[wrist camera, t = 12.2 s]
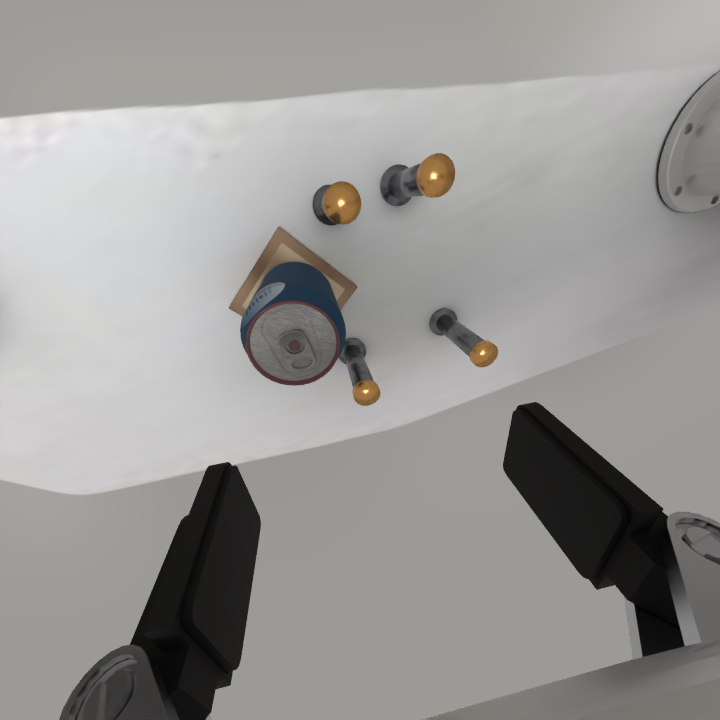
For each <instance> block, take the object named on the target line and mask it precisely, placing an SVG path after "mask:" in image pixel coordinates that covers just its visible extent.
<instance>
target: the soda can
mask: <svg viewBox="0 0 720 720" xmlns="http://www.w3.org/2000/svg"><path fill="white" fill-rule="evenodd" d="M240 332H241V340H242V344H243V347H244V349H245V351H246V353H247V355H248V357H249V359H250V361H251V363H252V364H253V366H254V367H255V368H256V369H257V370H258V371H259V372H260V373H261V374H262V375H263V376H265V377H266V378H268V379H270V380H272V381H274V382H277V383H280V384H284V385H304V384H308V383H311V382H314V381H316V380H318V379H320V378H321V377H323V376H324V375H325V374H326V373H328V372H329V371H330V369H331V368H332V367H333V366H334V364H335V362H336V360H337V359H338V357H339V356H340V354H341V352H342V350H343V347H344V343H345V338H346V330H345V323H344V320H343V317H342V314H341V312H340V309H339V306H338V304H337V301H336V298H335V295H334V293H333V290H332V287H331V285H330V283H329V281H328V280H327V278H326V277H325V276H324V275H323V273H321V272H320V271H319V270H318V269H316V268H315V267H313V266H311V265H309V264H306V263H302V262H287V263H283V264H280V265H278V266H276V267H274V268H273V269H271V270H270V271H269V272H268V273H267V274H266V275H265V277H264V278H263V280H262V282H261V284H260V285H259V287H258V289H257V291H256V292H255V294H254V296H253V298H252V300H251V301H250V303H249V305H248V307H247V309H246V310H245V313H244V315H243V318H242V321H241V329H240Z"/></svg>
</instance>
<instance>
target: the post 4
mask: <svg viewBox="0 0 720 720" xmlns="http://www.w3.org/2000/svg"><path fill="white" fill-rule="evenodd" d="M430 328H431V330H432V331H433V332H434V333H435V334H437V335H441V336H442V335H445V336H446V337H448V338H449V339H450V340H451V341H452V342H453V343H454V344H456V345H457V346H458V347H459V348H460V349H461V350H462V351H464V352H465V353H466V354H467V355H468V356H469V357H470V360H471V361H472V362H473V363H474V364H475V365H476V366H478V367H486V366H488V365H490V364H491V363H493V362H494V360H495V359H496V357H497V355H498V349H497V347H496V346H495V345H494V344H493V343H491V342H490V341H484V340H483V339H482V338H480V337H479V336H477V335H476V334H475V333H473V332H472V331H470V330H469V329H468V328H466V327H465V326H464V325H462V324H461V323H459V322H458V321H457V316H456V314H455V313H454V312H453V311H452V310H450V309H447V308H443V309H440V310H438V311H436V312H435V313H434V314H433V316H432V317H431V320H430Z"/></svg>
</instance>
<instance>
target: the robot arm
mask: <svg viewBox="0 0 720 720" xmlns="http://www.w3.org/2000/svg"><path fill="white" fill-rule="evenodd" d="M658 183H659V190H660V193H661V196H662V198H663V200H664V202H665V203H666V204H667V205H668V206H669V207H670V208H672V209H673V210H676V211H680V212H698V211H703V210H707V209H709V208H712V207H714V206H716V205H718V204H720V72H718V73H717V74H716V75H714V76H713V77H712V78H711V79H710V80H709V81H707V82H706V83H705V84H704V85H703V86H702V87H701V88H700V89H699V90H698V92H697V93H696V94H695V95H694V96H693V97H692V98H691V100H690V101H689V103H688V104H687V105H686V107H685V108H684V109H683V111H682V112H681V114H680V115H679V117H678V119H677V120H676V122H675V124H674V125H673V127H672V130H671V132H670V134H669V136H668V138H667V140H666V143H665V146H664V149H663V152H662V155H661V160H660V165H659V174H658ZM503 468H504V471H505V473H506V474H507V476H508V478H509V479H510V480H511V482H512V483H513V484H514V486H515V487H516V488H517V490H518V491H519V493H520V494H521V495H522V497H523V498H524V499H525V501H526V502H527V503H528V505H529V506H530V507H531V509H532V510H533V511H534V513H535V514H536V515H537V517H538V518H539V520H540V521H541V522H542V524H543V525H544V526H545V528H546V529H547V530H548V531H549V533H550V534H551V536H552V537H553V538H554V540H555V541H556V543H557V544H558V545H559V547H560V548H561V549H562V551H563V552H564V553H565V555H566V556H567V557H568V559H569V560H570V561H571V563H572V564H573V565H574V567H575V568H576V570H577V571H578V572H579V573H580V574H581V575H582V576H583V577H584V578H586V579H589V580H590V581H591V583H592V584H593V585H594V587H595V588H596V589H597V590H598V589H601V588H605V587H608V586H613V585H616V587H617V588H618V589H619V590H620V592H621V593H622V594H623V595H624V599H625V606H626V613H627V620H628V627H629V635H630V642H631V648H632V656H633V660H630V661H627V662H623V663H619V664H616V665H612V666H609V667H605V668H602V669H599V670H595V671H591V672H587V673H584V674H580V675H577V676H573V677H570V678H566V679H563V680H559V681H555V682H552V683H548V684H545V685H542V686H538V687H535V688H531V689H527V690H524V691H520V692H517V693H513V694H510V695H506V696H503V697H500V698H496V699H492V700H489V701H485V702H482V703H479V704H475V705H472V706H468V707H465V708H461V709H458V710H454V711H451V712H447V713H444V714H440V715H437V716H433V717H430V718H426V719H423V720H720V523H718V522H717V521H715V520H713V519H710V518H707V517H704V516H702V515H700V514H695V513H691V512H676V513H673V514H670V516H669V517H668V516H667V515H666V514H664V513H663V512H662V510H663V508H662V507H660V506H659V505H658V504H657V503H656V502H655V501H654V500H652V499H651V498H650V497H649V496H648V495H647V494H645V493H644V492H643V491H642V490H641V489H640V488H638V487H637V486H636V485H635V484H634V483H632V482H631V481H630V480H629V479H628V478H627V477H625V476H624V475H623V474H622V473H621V472H619V471H618V470H617V469H616V468H615V467H614V466H612V465H611V464H610V463H609V462H608V461H607V460H605V459H604V458H603V457H602V456H601V455H599V454H598V453H597V452H596V451H595V450H594V449H592V448H591V447H590V446H589V445H588V444H587V443H585V442H584V441H583V440H582V439H581V438H579V437H578V436H577V435H576V434H575V433H574V432H572V431H571V430H570V429H569V428H568V427H566V426H565V425H564V424H563V423H562V422H560V421H559V420H558V419H557V418H556V417H555V416H554V415H552V414H551V413H550V412H549V411H548V410H546V409H545V408H544V407H543V406H542V405H540V404H539V403H536V402H534V403H529V404H524V405H519V406H518V407H517V409H516V410H515V411H514V412H513V415H512V420H511V425H510V431H509V436H508V441H507V447H506V452H505V457H504V462H503ZM260 522H261V521H260V516H259V514H258V512H257V509H256V507H255V505H254V503H253V501H252V498H251V496H250V494H249V492H248V490H247V487H246V485H245V483H244V481H243V479H242V476H241V474H240V472H239V470H238V468H237V466H232V465H231V464H230V463H229V462H226V463H221V464H216V465H211V466H209V467H208V468H207V470H206V472H205V475H204V477H203V480H202V482H201V485H200V487H199V490H198V492H197V495H196V498H195V500H194V503H193V505H192V508H191V510H190V513H189V515H187V516H185V517H184V518H183V519H182V520H181V522H180V524H179V526H178V529H177V531H176V534H175V536H174V538H173V541H172V543H171V546H170V548H169V550H168V553H167V555H166V558H165V560H164V563H163V565H162V567H161V570H160V572H159V575H158V577H157V580H156V582H155V585H154V587H153V590H152V592H151V595H150V597H149V599H148V602H147V604H146V607H145V609H144V612H143V614H142V616H141V619H140V621H139V624H138V626H137V629H136V631H135V634H134V636H133V638H132V641H131V643H130V645H126V646H122V647H120V648H118V649H115V650H114V651H111V652H110V653H108V654H107V655H106V656H104V657H103V658H102V659H100V660H99V661H98V662H97V663H96V664H95V665H94V666H93V667H92V668H91V669H90V670H89V671H88V672H87V673H86V674H85V675H84V677H83V678H82V679H81V680H80V682H79V683H78V685H77V686H76V687H75V689H74V690H73V692H72V693H71V695H70V697H69V699H68V701H67V702H66V704H65V706H64V708H63V710H62V713H61V716H60V719H59V720H212V719H211V717H210V713H211V709H212V704H213V699H214V694H215V689H218V688H222V687H226V686H229V685H231V679H232V672H233V670H236V669H237V668H238V666H239V664H240V660H241V655H242V648H243V641H244V635H245V628H246V621H247V615H248V608H249V601H250V595H251V588H252V581H253V575H254V567H255V561H256V555H257V548H258V540H259V534H260V527H261V523H260Z"/></svg>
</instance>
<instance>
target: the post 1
mask: <svg viewBox="0 0 720 720" xmlns="http://www.w3.org/2000/svg"><path fill="white" fill-rule="evenodd" d="M360 209H361V199H360V195H359V193H358V191H357V190H356V188H355V187H354V186H353V185H351V184H350V183H347V182H336V183H334V184H332V185H325V186H323V187H321V188H320V189H318V191H317V192H316V193H315V195H314V198H313V210H314V213H315V215H316V217H317V218H318V219H319V220H320V221H321V222H323V223H324V224H327V225H336V224H348V223H350V222H352V221H354V220H355V219H356V217H357V216H358V214H359V212H360Z"/></svg>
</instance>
